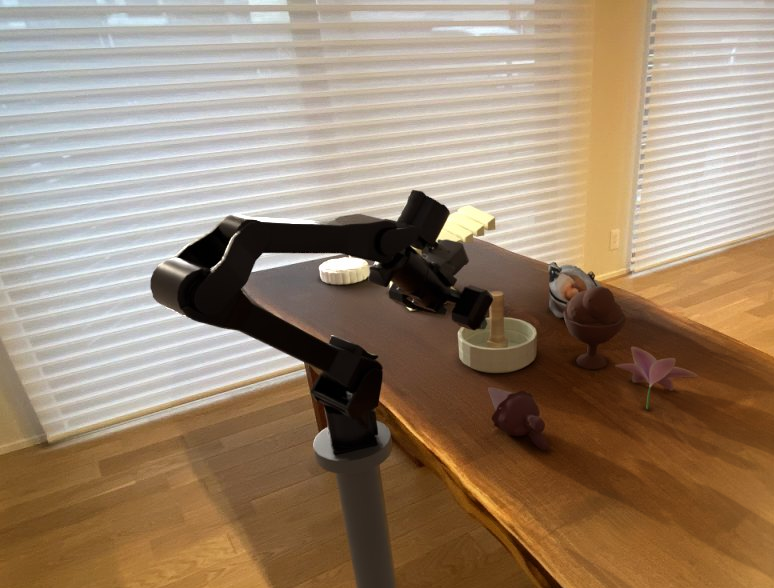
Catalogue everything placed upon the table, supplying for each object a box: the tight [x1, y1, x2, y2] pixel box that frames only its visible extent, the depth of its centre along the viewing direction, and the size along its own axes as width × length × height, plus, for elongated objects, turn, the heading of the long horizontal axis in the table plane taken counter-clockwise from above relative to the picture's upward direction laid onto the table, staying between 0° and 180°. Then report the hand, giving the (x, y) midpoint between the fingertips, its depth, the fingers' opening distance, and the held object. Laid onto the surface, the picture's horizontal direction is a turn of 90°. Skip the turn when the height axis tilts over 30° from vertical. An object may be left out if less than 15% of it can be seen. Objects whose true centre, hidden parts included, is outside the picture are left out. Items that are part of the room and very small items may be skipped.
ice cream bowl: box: [563, 285, 627, 370], centre depth 110 cm, size 11×11×15 cm
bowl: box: [457, 316, 538, 374], centre depth 114 cm, size 14×14×5 cm
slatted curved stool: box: [347, 205, 496, 312], centre depth 140 cm, size 30×16×18 cm, turn 120°
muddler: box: [487, 290, 508, 348], centre depth 112 cm, size 4×4×12 cm
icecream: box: [487, 386, 549, 451], centre depth 92 cm, size 7×7×15 cm
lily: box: [614, 346, 699, 410], centre depth 100 cm, size 12×12×10 cm
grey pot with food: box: [547, 261, 602, 319], centre depth 129 cm, size 15×12×14 cm
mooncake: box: [318, 256, 370, 286], centre depth 154 cm, size 12×12×4 cm
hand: (464, 319), depth 104 cm, fingers open, 9 cm apart
